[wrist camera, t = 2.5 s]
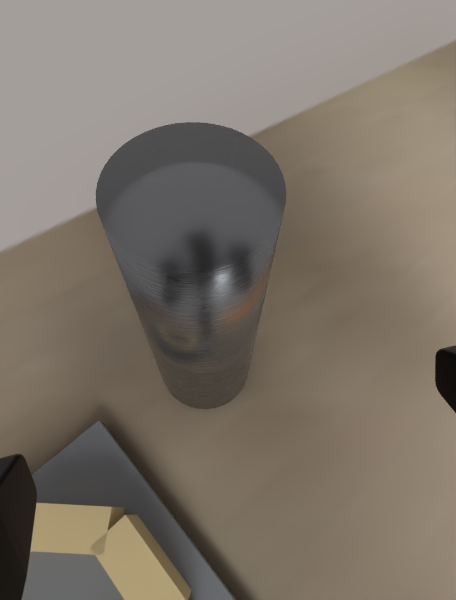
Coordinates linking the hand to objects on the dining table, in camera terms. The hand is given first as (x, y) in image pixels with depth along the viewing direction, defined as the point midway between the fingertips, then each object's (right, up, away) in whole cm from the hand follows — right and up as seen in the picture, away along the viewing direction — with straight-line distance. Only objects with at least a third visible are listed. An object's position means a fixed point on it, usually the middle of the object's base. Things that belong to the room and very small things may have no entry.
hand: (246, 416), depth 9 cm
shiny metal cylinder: (-2, -1, +12) cm, 13 cm away
